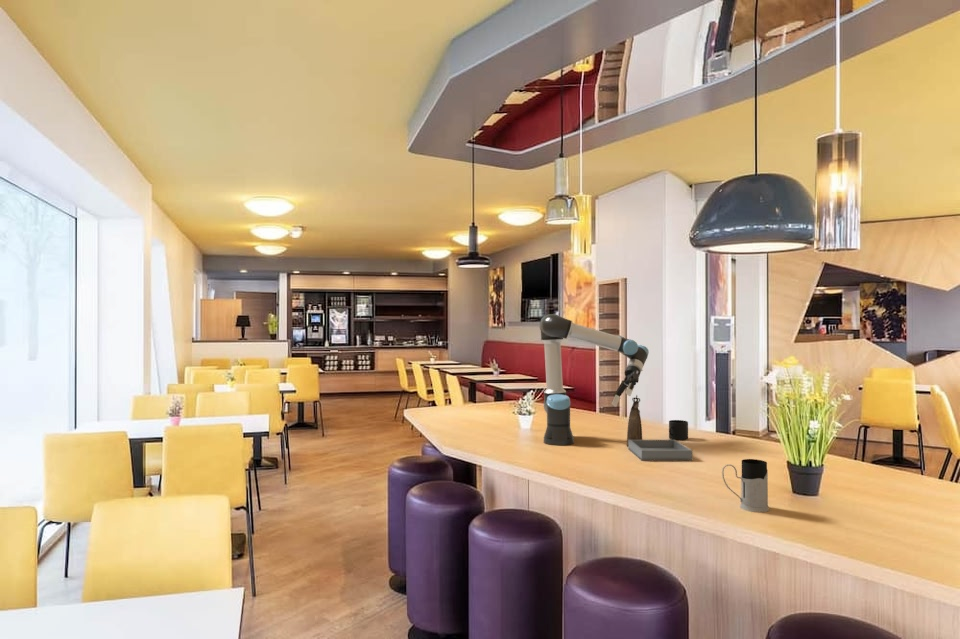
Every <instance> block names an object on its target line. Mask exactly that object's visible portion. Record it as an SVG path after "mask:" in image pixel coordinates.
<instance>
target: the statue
mask: <svg viewBox="0 0 960 639" xmlns="http://www.w3.org/2000/svg"><path fill="white" fill-rule="evenodd" d="M632 402H633V404H632V406H631V408H630V412H629V415H628V423H627V431H626V432H627V434H626V447H628V440H643V429H642V428H643V427H642V419H641V411H640V409H639V407H640V406H639V405H640V404H639V403H640V402H641V398H639V397H638V394H636V395H635V397H632Z"/></svg>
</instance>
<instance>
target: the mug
mask: <svg viewBox="0 0 960 639" xmlns="http://www.w3.org/2000/svg"><path fill="white" fill-rule="evenodd" d="M688 439H689V421H687V420H682V419H680V420H679V419H673V420H668V440H676V441H678V442H679V441H680V442H681V441H688Z"/></svg>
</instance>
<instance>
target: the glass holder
mask: <svg viewBox="0 0 960 639" xmlns="http://www.w3.org/2000/svg"><path fill="white" fill-rule="evenodd" d="M726 467H733V469H734V471H735V473H734V474H735V477H736V478H737V479H740V486H741V487H740V490H741V492H740V493H741V494H740V495H738V494H737V493H736V492H734V491H733V490H732V489H731V488H730V487H729V486H728V484H727V482H726V479H725V475H724V473H725V472H724V470H725V469H726ZM768 474H769V473H768V462H767V461H765V460H762V459H756V458H755V459H754V458H744V459H742V460H741V475H740V476H738V471H737V468H736V466H734V465H733V464H725V465H724V466H723V467H722V472H721V475H722V479H723V483H724V485H725V486H726V488H727V489H728V490H729V491H730V492H731V493H732V494H734V495H735V496H736V497H738V499H739V500H740V504H739V508H740V509H742V510H744V511H747V512H751V513H767V512H769V511H770V508H769V499H768V498H769V495H768V493H769V491H768V490H769V488H768V485H769V484H768V478H769V477H768V476H769V475H768ZM740 496H741V497H740Z"/></svg>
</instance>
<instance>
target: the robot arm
mask: <svg viewBox="0 0 960 639" xmlns="http://www.w3.org/2000/svg"><path fill="white" fill-rule="evenodd" d="M539 330H540V340H541V342H542V343H543V345H544V363H545V368H544V369H545V383H546V389H545V390H544V391H543V399H544V400H543V409H544V411H545V413H546V428H545V432H544V435H543V443H544V444H546V445H547V444H548V445H552V446H566V445H567V446H568V445H569V446H570V445H573V444H574V443H575V440H574V439H575V438H574V435H573V431H572V429H571V398H570V397H569V395H567V390H566V389H564V385H563V384H564V383H563V367H562V365H563V363H562V346H561V345H562V344H561V343H562V342H563V340H564V339H565V340H567V339H573V340H577V341H580V342H583V343H587V344H590V345H594V346H597V347H601V348H604V349H608V350H611V351H615V352H618V353H620V354H622V355H623V356H625V357H626V358H628V359H629V360H628V363H627V364H626V365H627V366H626V368H625V370H624V375H625V377H624V378H623V380H621V382H620V384H619V386H618V388H617V389H616V390H615V393H614V394H613V395H612V396H613V399H612V402H611V404H610V405H612V406H613V407H614V408H617V406H618V404H619V401H620V400H621V399H622V398H621V396H622V395H623V393H625V394H626V395H627V396H629V397H630V396H631V395H632V392H634V388H635V386H636V384H638V383H639V378H640V375H641V374H642V373H641V372H643V371H644V369H643V368H644V365H645V363H646V362H647V360H648V356H649V349H648V347H647V346H645V345H643V344H638V343H637V342H636V341H635V340H633V339H631V338H625V337H624V336H622V335H619V334H618V335H616V334H611V333H608V332H604V331H601V330H597V329H594V328H591V327H588V326H584V325H581V324H577V323H574V322H573V320H570V319H568V318H565V317H563V316H561V315H558V314H555V313H549V314H546V315H544V316H543V317H541V319H540V321H539Z"/></svg>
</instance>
